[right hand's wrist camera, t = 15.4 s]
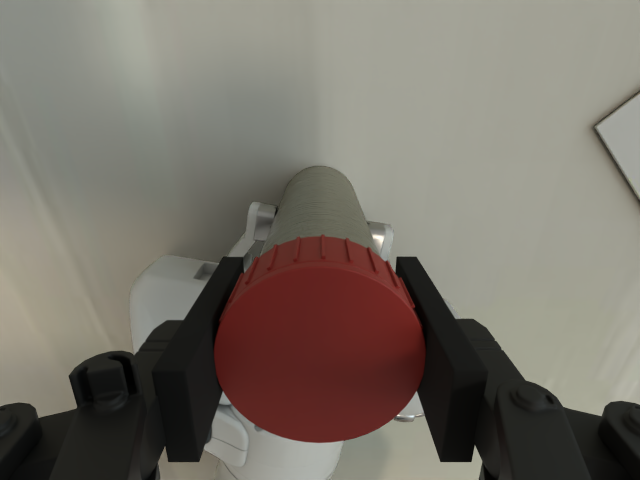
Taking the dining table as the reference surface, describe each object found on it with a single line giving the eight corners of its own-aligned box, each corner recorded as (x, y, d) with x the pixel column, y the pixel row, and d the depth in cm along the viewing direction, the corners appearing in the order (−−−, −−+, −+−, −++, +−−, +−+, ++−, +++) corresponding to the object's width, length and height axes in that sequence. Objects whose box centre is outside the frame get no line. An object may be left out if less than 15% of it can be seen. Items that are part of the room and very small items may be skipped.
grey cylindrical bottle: (337, 246, 29) (362, 444, 12) (273, 220, 28) (204, 391, 11) (367, 183, 27) (445, 312, 10) (300, 153, 26) (266, 240, 10)
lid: (362, 410, 14) (370, 468, 12) (206, 356, 13) (183, 408, 11) (442, 275, 12) (470, 314, 10) (267, 203, 11) (254, 228, 9)
